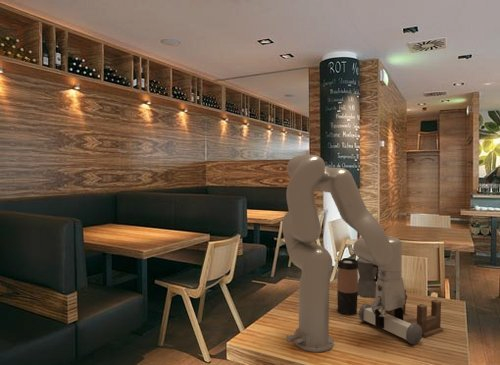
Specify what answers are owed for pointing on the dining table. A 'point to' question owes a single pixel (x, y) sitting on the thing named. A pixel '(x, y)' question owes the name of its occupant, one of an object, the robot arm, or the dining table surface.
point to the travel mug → (347, 286)
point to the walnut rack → (425, 318)
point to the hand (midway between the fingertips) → (389, 323)
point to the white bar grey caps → (393, 325)
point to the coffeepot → (367, 278)
